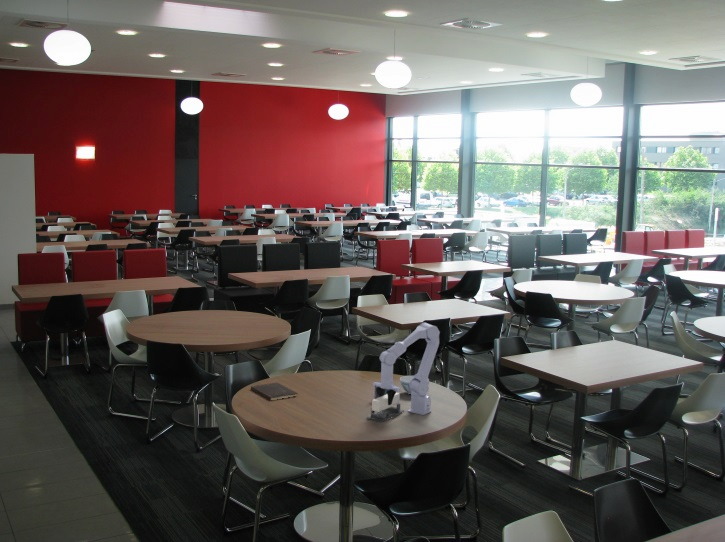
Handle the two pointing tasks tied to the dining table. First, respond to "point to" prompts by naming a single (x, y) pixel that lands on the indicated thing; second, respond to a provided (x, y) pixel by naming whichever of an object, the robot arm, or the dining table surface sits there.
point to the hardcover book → (273, 391)
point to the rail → (384, 402)
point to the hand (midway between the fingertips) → (385, 403)
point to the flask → (377, 393)
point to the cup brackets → (385, 413)
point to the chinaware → (406, 383)
